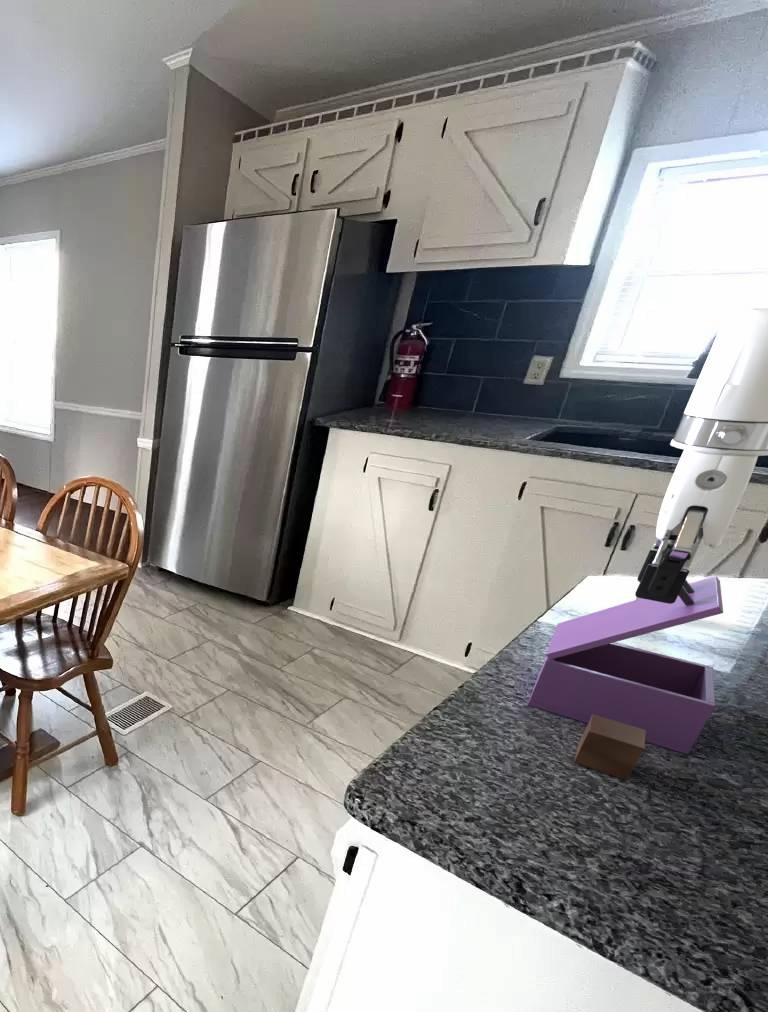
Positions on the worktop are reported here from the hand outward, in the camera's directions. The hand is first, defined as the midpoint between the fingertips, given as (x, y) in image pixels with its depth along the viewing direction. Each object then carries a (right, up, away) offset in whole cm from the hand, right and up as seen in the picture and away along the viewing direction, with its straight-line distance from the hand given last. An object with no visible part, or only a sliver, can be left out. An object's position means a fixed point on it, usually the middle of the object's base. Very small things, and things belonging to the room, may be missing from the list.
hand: (655, 590), depth 74 cm
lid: (0, -4, +2) cm, 4 cm away
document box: (+1, -15, +7) cm, 16 cm away
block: (-9, -20, -2) cm, 22 cm away
